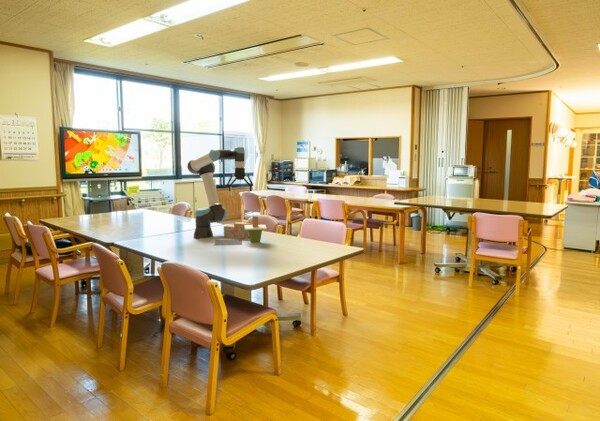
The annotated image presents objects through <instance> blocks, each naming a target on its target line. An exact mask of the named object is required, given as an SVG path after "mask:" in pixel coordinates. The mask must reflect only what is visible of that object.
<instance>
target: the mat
mask: <svg viewBox="0 0 600 421" xmlns="http://www.w3.org/2000/svg"><path fill="white" fill-rule="evenodd" d="M241 245H242V246H243V238H237V239H215V241H214V244H213V246H218V247H219V246H241Z"/></svg>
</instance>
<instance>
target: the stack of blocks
mask: <svg viewBox="0 0 600 421" xmlns="http://www.w3.org/2000/svg"><path fill="white" fill-rule="evenodd" d="M244 225H252V223H251V222H241V221H240V222H239V221H236V222H234V224H233V225H230V224H229V225H224V226H223V237H224V238H234V239H235V238H236V239H247V240H248V239H250V235H249V231H248V230H245V227H244Z"/></svg>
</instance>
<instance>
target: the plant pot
mask: <svg viewBox="0 0 600 421" xmlns="http://www.w3.org/2000/svg"><path fill="white" fill-rule="evenodd" d="M248 231H249V235H250V238H249V240H250V243H252V244H254V243H255V244H257V243H261V240H262V232H263V230H248Z"/></svg>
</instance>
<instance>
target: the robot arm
mask: <svg viewBox="0 0 600 421" xmlns="http://www.w3.org/2000/svg"><path fill="white" fill-rule="evenodd" d="M245 150H246V149H245V147H243V146H235V147H234V149H221V148H220V149H216V148H215V149H211V150H210V151H209V153H207V154H204V155H202V156H200V157H198V158H194V159H191V160H189V161H188V163H187V164H186V165H187V166H186V167H187V170H188V171H189V173H191V174H193V175H199V178H201V179H202V183H203V186H204V187H203V188H204V191H205V194H206V197H207V198H206V199H207V201H208V205H209V206H204V207H199V208H196V209H195V212H194V216H195V218H194V219H195V229H194V232H193V238H194V239H207V238H213V237H214V233H213V230H212V226H211V224H213V223H220V222H224V221H225V220H226V218H227V216H228V210H227V209H226V208H225V207H224V206H223V204H222V203H220V200H219V196H218V192H217V188H216V184H215V181H214V174H215V171H216V166H215V163H214V162H218V161H219V160H229V161H230V160H234V167H235V168H234V173H231V174H230V177H229V179H228V181H227V184H226V186H227V187H228V191H229V192H230V197H232V196H233V188H232V185H233V184H235V182H236V181H237V180H238V181H240V180H241V181H242V180H243V181H244V182H245V183H246V184H247V185H248V196H251V195H250V194H251V193H250V192H251V191H252V187H254V183H253V181H252V178H251V177H250V173H247V174H246V168H245V167H246V166H245V165H246V164H245V163H246V161H245V160H246V159H245V158H246V157H245V156H246V155H245V154H246V152H245ZM233 177H235V178H234V179H233ZM245 177H247V178H248V180H249V181H248V180H247V179H246V178H245ZM232 179H233V180H232ZM231 180H232V181H231ZM249 182H250V183H249Z"/></svg>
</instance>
